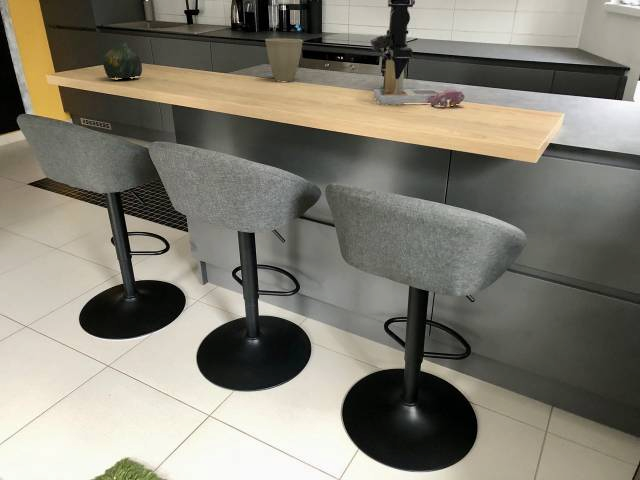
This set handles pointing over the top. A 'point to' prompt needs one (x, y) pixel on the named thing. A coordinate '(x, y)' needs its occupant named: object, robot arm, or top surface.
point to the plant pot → (284, 57)
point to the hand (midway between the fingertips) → (394, 77)
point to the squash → (122, 62)
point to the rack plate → (406, 96)
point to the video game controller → (448, 97)
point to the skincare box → (392, 79)
